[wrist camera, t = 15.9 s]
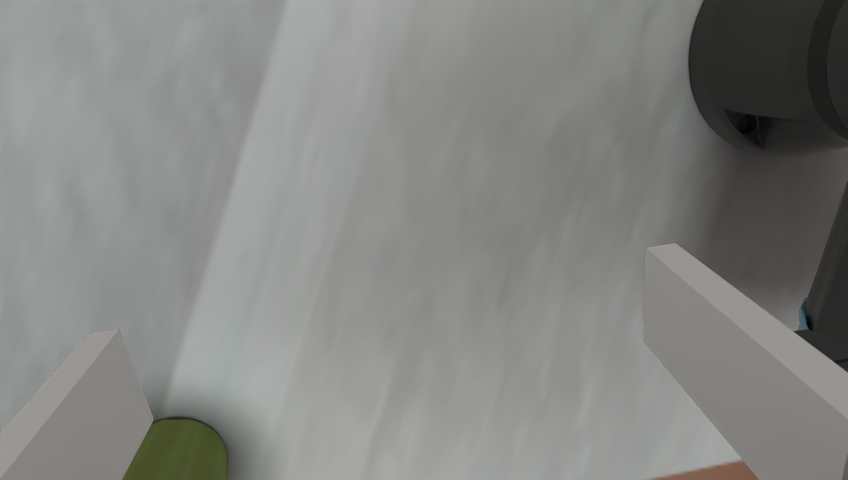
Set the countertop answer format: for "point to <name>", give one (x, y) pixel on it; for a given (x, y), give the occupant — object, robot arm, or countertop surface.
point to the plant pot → (179, 453)
